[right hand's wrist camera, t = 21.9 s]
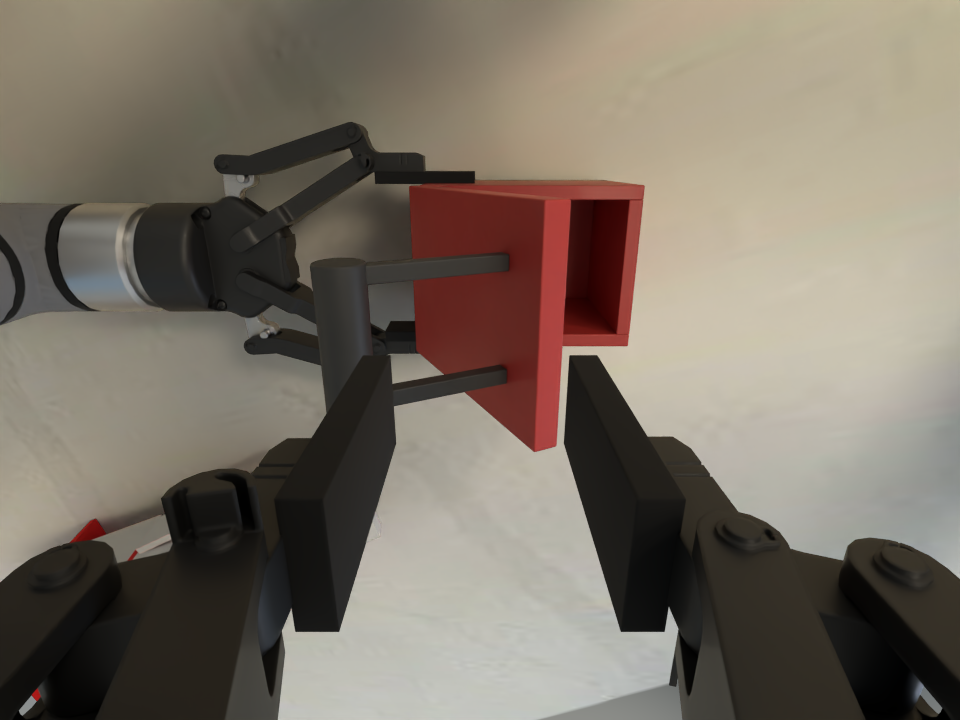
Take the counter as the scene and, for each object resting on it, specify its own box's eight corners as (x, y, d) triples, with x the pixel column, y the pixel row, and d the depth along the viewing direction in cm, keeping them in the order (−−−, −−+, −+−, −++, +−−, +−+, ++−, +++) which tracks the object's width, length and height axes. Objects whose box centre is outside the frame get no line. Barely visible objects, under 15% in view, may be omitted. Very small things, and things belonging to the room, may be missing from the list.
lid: (571, 198, 19) (318, 206, 15) (556, 446, 22) (349, 503, 19) (427, 185, 31) (266, 188, 27) (432, 348, 34) (291, 370, 31)
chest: (603, 180, 42) (645, 185, 31) (593, 305, 45) (628, 346, 35) (434, 179, 41) (419, 184, 31) (437, 304, 45) (425, 346, 35)
